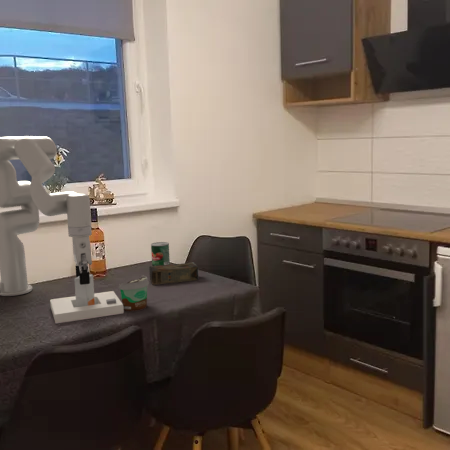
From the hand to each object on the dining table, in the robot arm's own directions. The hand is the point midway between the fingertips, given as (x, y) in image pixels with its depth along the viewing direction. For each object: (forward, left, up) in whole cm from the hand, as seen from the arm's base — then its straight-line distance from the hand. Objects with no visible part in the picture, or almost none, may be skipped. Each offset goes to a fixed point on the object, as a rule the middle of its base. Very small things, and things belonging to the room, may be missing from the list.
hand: (82, 280), depth 187 cm
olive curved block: (+39, +23, -11) cm, 46 cm away
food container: (+17, -7, -11) cm, 21 cm away
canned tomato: (+39, +45, -11) cm, 61 cm away
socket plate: (0, -1, -11) cm, 11 cm away
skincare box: (0, 0, -11) cm, 11 cm away
